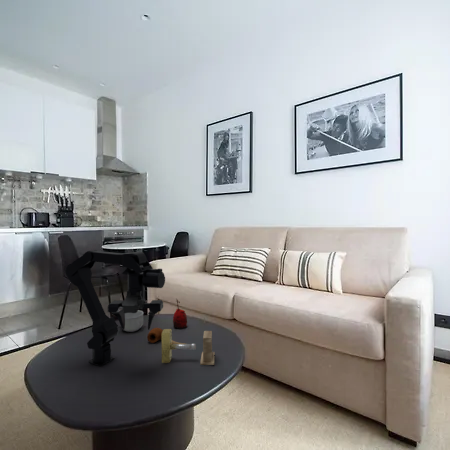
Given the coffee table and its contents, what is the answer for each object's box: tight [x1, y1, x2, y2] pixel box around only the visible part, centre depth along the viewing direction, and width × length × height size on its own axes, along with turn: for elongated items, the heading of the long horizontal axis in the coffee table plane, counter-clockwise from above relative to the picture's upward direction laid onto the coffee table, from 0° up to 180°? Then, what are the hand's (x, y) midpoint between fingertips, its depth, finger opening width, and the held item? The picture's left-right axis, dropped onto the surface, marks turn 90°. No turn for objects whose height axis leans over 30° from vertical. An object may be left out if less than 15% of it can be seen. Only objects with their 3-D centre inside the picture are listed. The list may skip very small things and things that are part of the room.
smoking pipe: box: [146, 327, 187, 344], centre depth 121 cm, size 7×18×6 cm, turn 72°
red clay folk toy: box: [172, 298, 188, 329], centre depth 139 cm, size 8×7×15 cm
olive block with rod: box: [161, 328, 197, 364], centre depth 105 cm, size 13×4×11 cm, turn 91°
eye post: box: [199, 330, 216, 366], centre depth 105 cm, size 5×9×10 cm, turn 1°
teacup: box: [123, 309, 144, 333], centre depth 137 cm, size 14×11×8 cm
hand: (136, 329), depth 101 cm, fingers open, 9 cm apart
